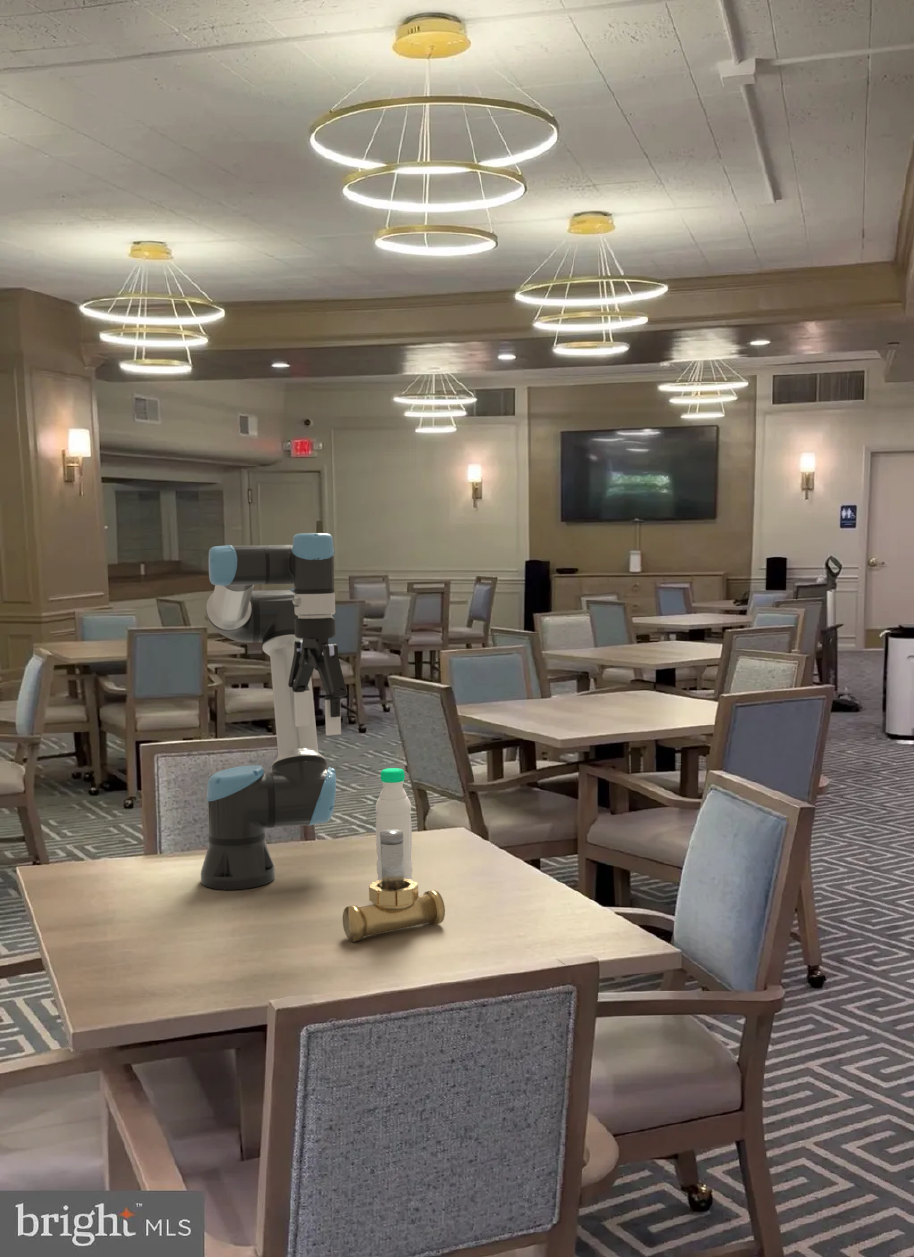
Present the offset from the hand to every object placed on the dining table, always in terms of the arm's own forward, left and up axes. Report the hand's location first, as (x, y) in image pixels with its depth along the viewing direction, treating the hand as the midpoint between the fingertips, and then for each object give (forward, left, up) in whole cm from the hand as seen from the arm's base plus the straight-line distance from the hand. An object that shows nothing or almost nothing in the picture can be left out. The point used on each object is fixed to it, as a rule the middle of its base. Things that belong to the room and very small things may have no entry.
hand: (317, 730), depth 212 cm
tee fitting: (+18, +6, -35) cm, 39 cm away
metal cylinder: (+18, +6, -29) cm, 34 cm away
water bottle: (-2, +17, -35) cm, 39 cm away
